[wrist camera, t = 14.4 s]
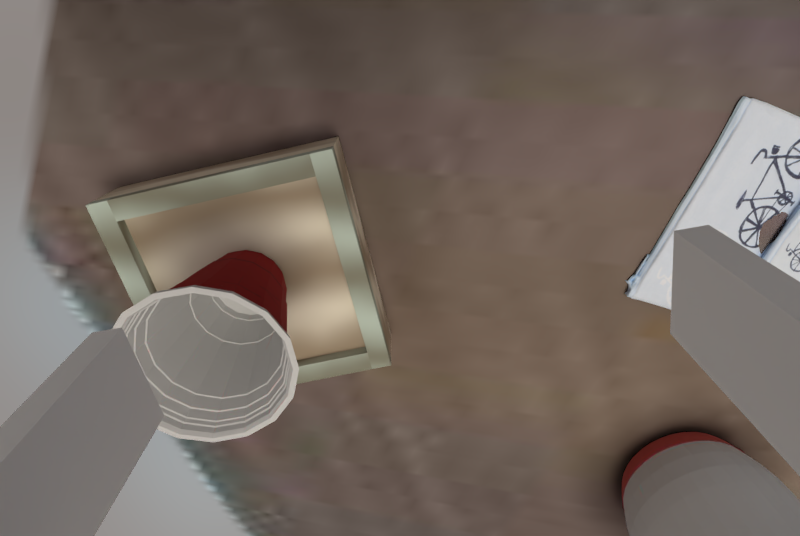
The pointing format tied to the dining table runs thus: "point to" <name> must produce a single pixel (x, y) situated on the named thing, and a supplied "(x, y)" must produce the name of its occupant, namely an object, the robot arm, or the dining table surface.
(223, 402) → the plastic cup
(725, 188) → the white flat piece
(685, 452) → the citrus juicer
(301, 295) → the stand
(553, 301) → the dining table surface
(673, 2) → the dining table surface
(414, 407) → the dining table surface
